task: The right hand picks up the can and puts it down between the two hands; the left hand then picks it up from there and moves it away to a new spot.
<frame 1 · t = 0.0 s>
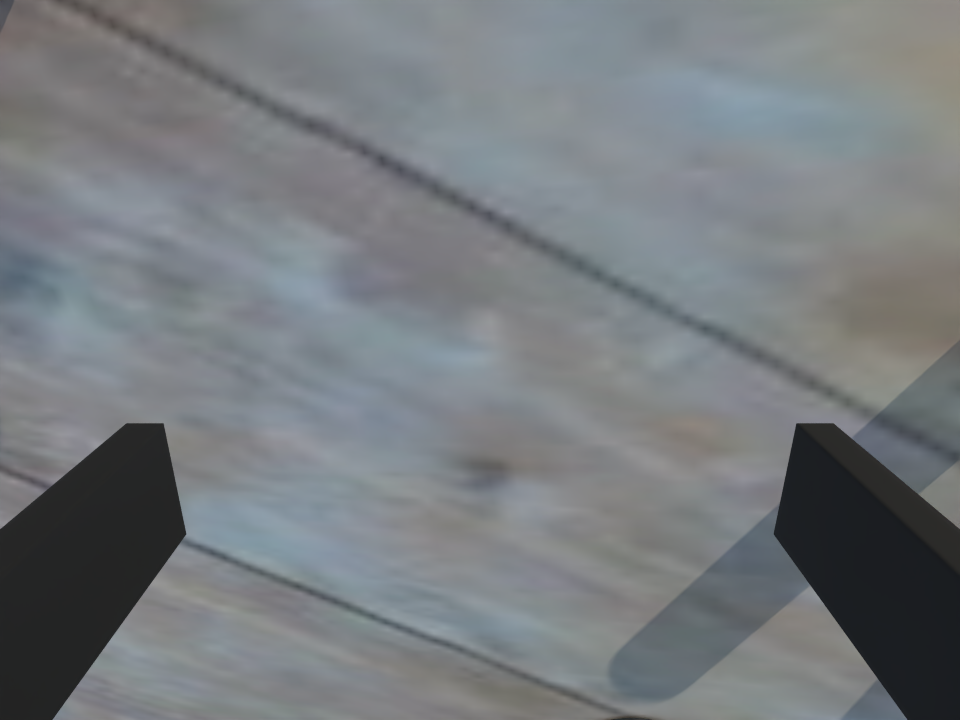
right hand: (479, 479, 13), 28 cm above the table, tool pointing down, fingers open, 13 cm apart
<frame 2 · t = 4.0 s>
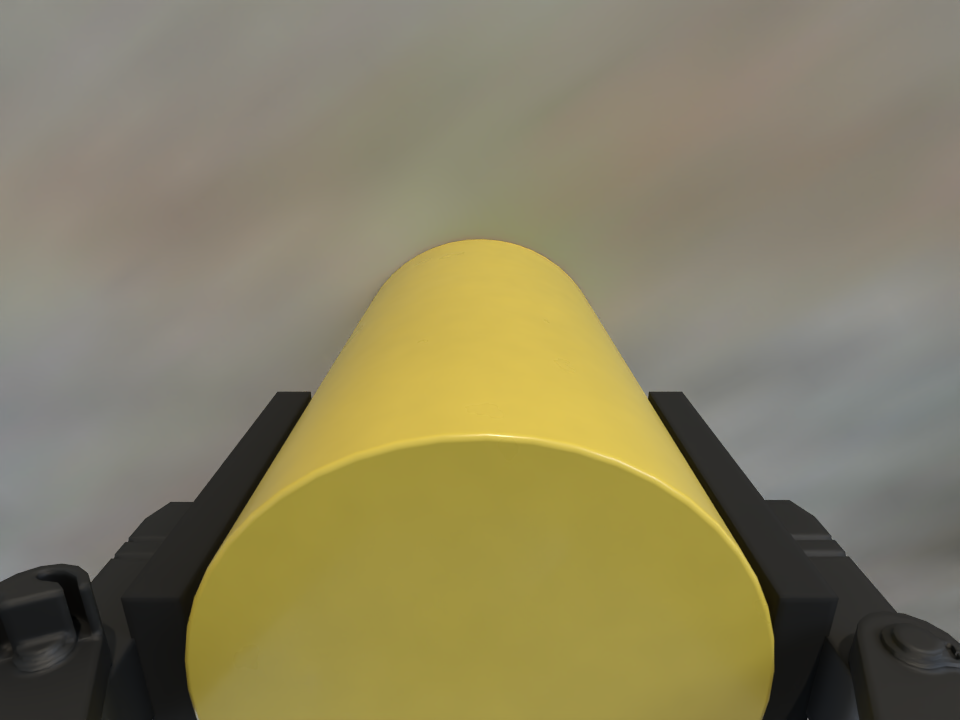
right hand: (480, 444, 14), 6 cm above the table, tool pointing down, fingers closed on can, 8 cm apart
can: (479, 358, 20), on the table, touching right hand
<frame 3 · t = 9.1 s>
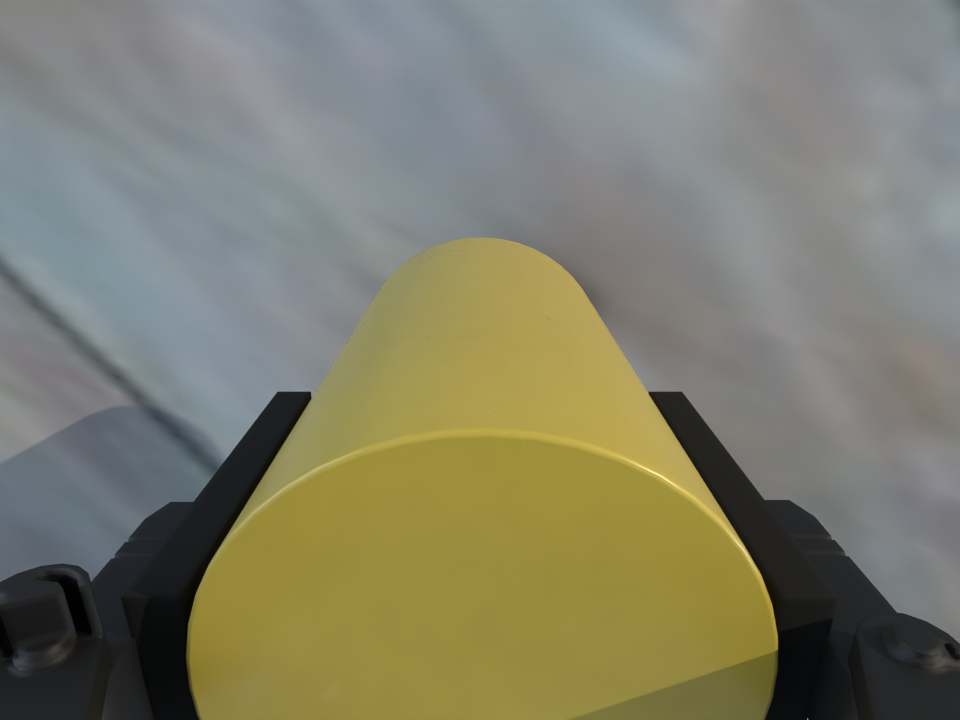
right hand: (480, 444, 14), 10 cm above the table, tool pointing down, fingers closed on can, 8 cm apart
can: (480, 357, 20), point 5 cm above the table, touching right hand
when the right hand's fingers open (7 cm above the table, at t = 14.0 s): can drops 1 cm, on the table.
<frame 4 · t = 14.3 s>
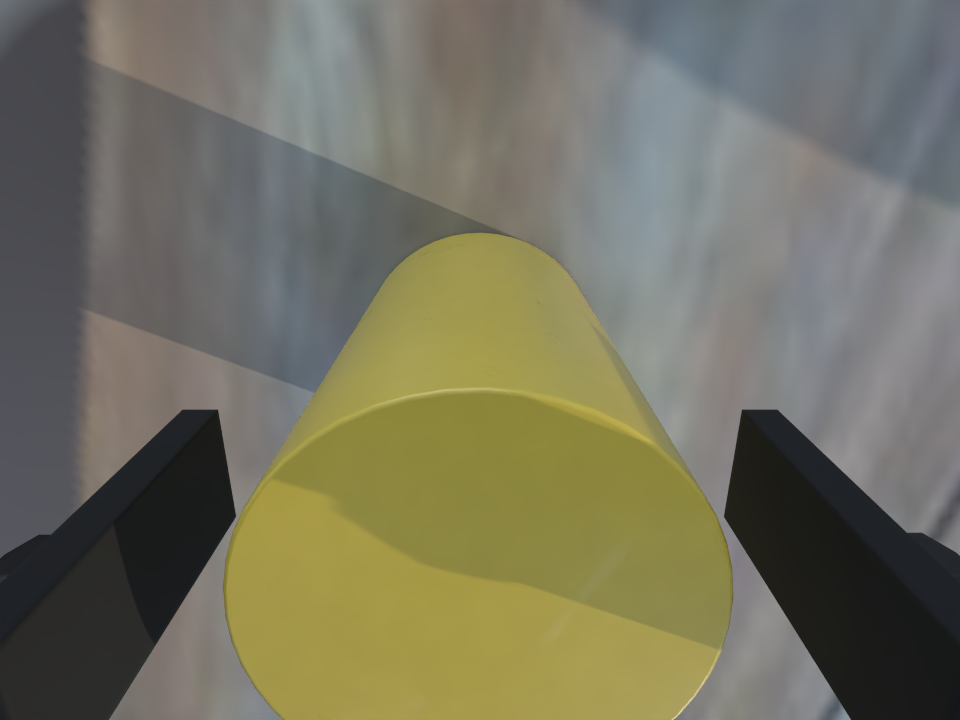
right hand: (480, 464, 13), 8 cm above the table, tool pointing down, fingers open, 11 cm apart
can: (479, 345, 21), on the table
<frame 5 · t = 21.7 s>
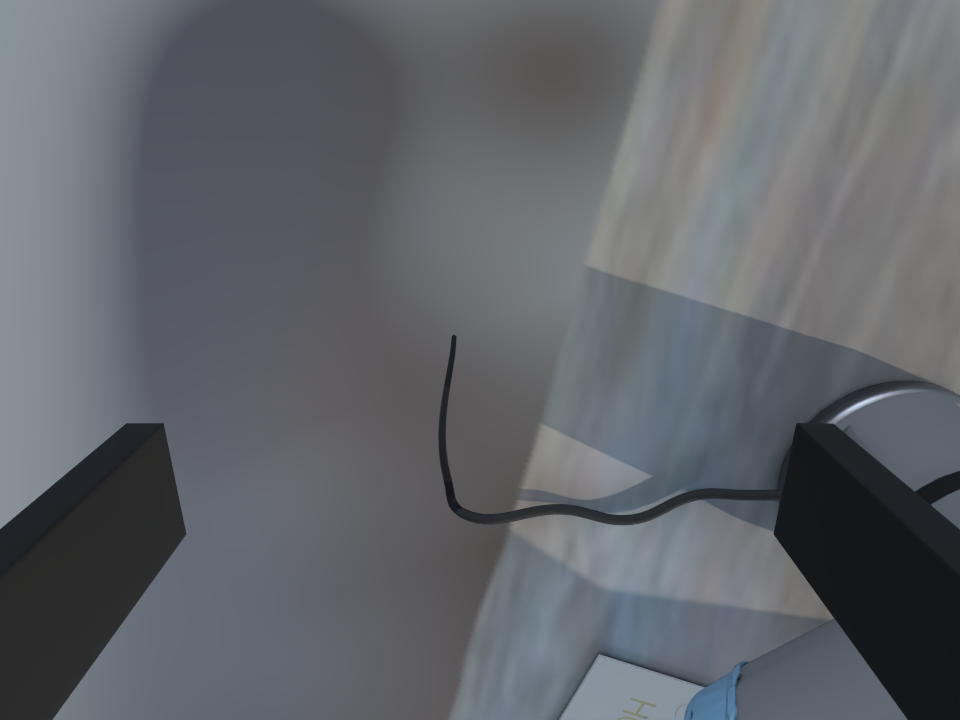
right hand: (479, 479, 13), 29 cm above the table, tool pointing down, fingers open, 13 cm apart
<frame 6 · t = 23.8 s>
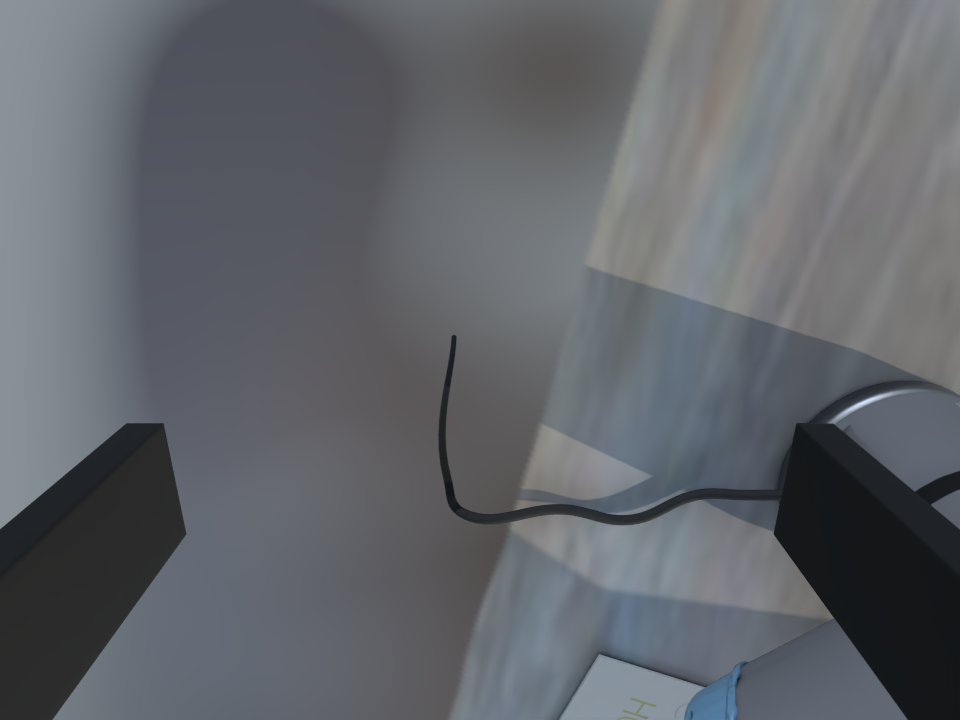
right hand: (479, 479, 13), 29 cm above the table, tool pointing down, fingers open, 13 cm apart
when the left hand's fingers open (7 cm above the table, at t = 26.0 s): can drops 1 cm, on the table.
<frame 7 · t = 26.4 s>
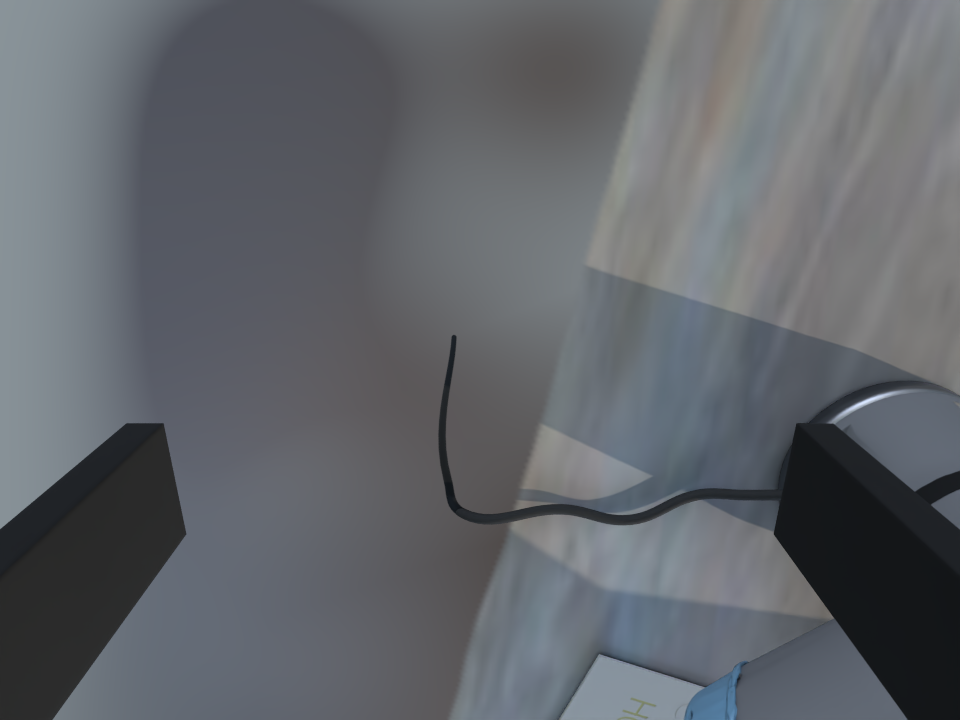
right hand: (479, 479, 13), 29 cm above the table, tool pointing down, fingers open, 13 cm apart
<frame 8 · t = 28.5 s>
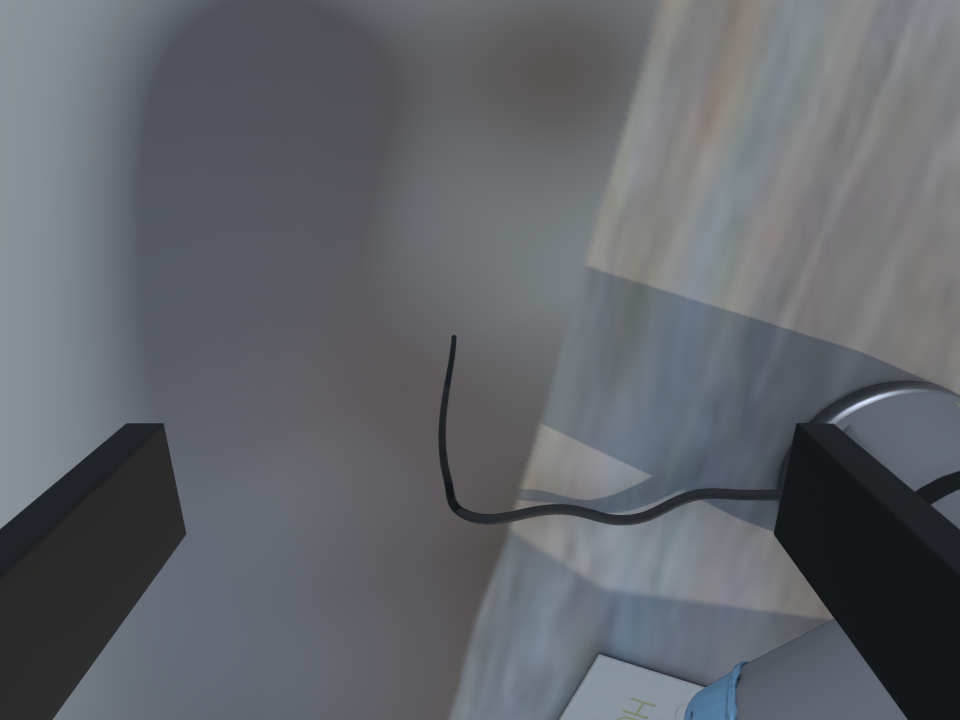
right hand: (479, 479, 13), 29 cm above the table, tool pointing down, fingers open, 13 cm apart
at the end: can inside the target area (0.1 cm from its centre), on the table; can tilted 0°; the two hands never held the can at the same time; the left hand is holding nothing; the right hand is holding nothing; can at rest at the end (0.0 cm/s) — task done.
